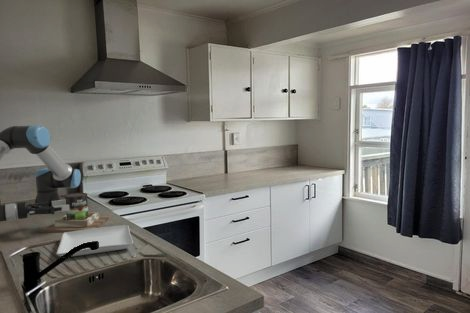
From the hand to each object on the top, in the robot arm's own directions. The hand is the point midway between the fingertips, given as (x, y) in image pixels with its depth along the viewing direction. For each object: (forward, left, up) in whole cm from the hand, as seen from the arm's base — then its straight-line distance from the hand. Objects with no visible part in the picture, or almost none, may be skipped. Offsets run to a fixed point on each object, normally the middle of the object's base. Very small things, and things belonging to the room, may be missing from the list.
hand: (67, 204), depth 175 cm
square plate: (+29, +24, -11) cm, 39 cm away
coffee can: (-2, +3, -10) cm, 11 cm away
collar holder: (-2, +3, -11) cm, 11 cm away
